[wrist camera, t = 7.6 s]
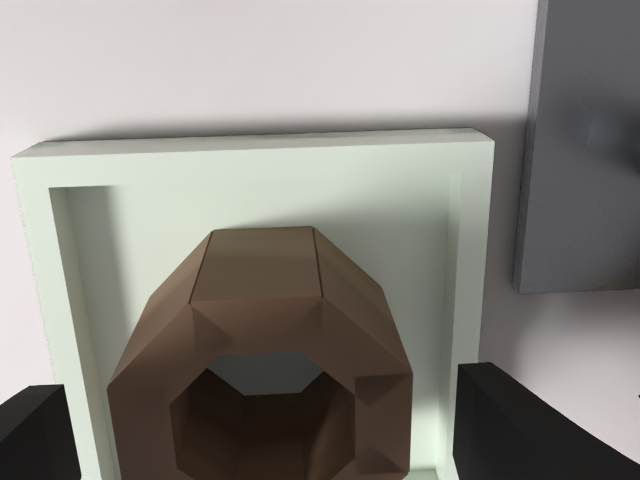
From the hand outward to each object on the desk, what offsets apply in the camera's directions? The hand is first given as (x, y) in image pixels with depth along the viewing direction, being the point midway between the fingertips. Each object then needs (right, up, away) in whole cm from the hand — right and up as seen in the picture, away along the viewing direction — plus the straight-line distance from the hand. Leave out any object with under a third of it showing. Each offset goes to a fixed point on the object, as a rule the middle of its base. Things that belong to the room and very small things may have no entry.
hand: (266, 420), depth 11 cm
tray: (0, +1, +3) cm, 4 cm away
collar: (0, +1, +3) cm, 3 cm away
